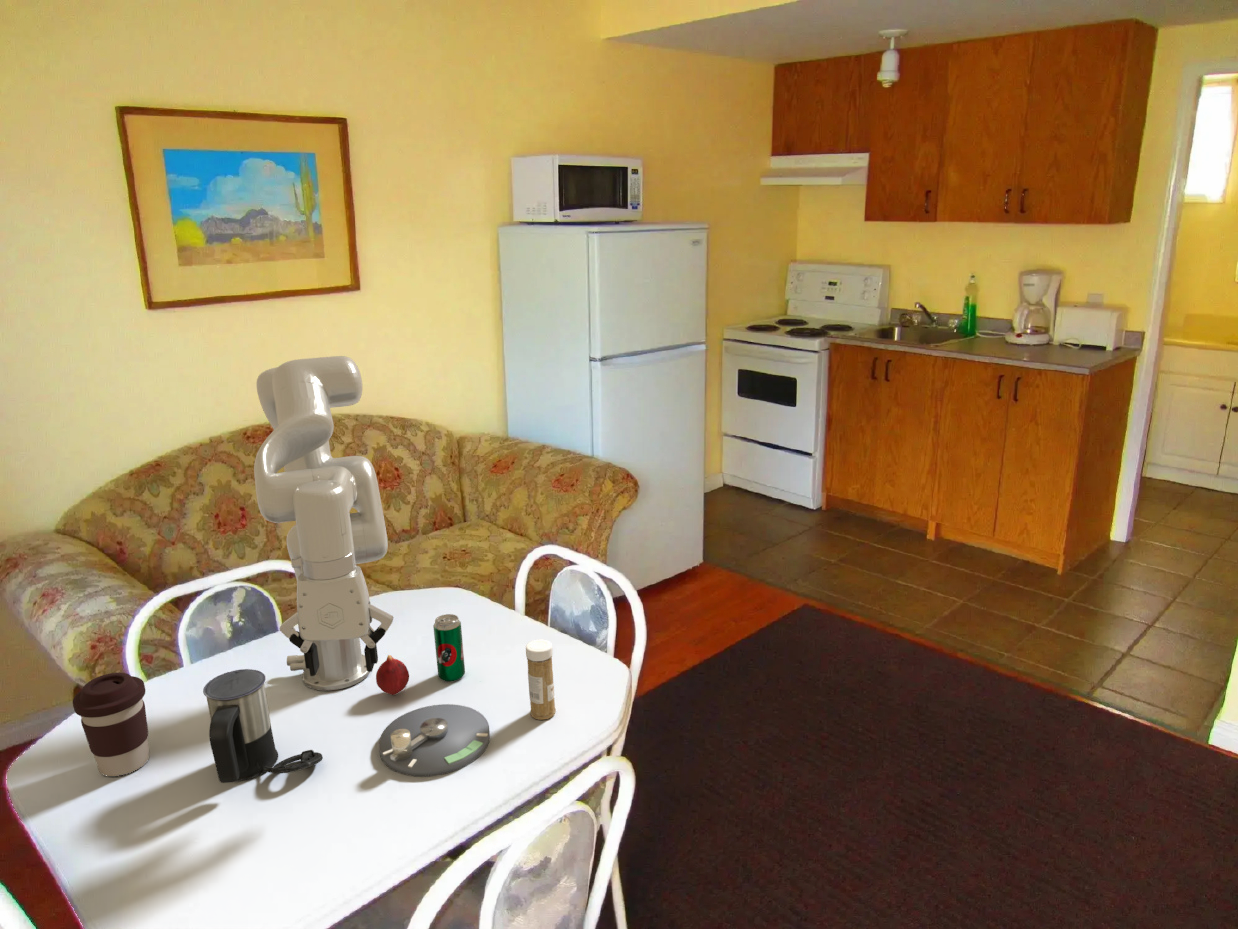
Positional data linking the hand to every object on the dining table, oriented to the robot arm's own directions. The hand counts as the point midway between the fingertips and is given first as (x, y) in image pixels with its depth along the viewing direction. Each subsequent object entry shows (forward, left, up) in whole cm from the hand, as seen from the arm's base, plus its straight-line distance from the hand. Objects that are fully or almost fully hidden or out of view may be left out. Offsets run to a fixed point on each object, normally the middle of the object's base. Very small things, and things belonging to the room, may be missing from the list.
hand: (343, 669), depth 133 cm
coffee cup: (-38, +7, -18) cm, 43 cm away
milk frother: (-14, +3, -18) cm, 23 cm away
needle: (+10, +3, -16) cm, 19 cm away
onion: (+3, +22, -18) cm, 28 cm away
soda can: (+13, +27, -18) cm, 35 cm away
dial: (+12, +6, -18) cm, 22 cm away
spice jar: (+30, +12, -18) cm, 37 cm away
